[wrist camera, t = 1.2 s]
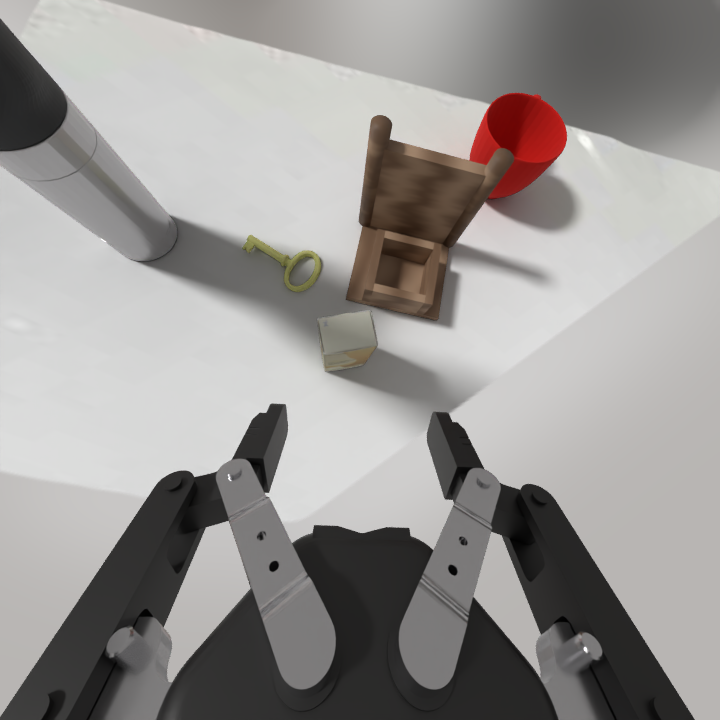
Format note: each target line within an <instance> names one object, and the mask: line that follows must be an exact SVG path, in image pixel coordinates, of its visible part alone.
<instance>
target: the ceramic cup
mask: <svg viewBox="0 0 720 720" xmlns="http://www.w3.org/2000/svg"><path fill="white" fill-rule="evenodd" d="M566 141H567V132H566V127H565V125H564V122H563V120H562V118H561V117H560V116H559V114H558V113H557V112H556V111H555V110H554V109H553V107H551V106H550V105H549V104H547V103H546V102H545V101H543V100H541V96H539V95H534V96H532V95H528V94H524V93H509V94H506V95H503V96H501V97H499V98H497V99H496V100H495V101H494V102H492V104H491V105H490V106H489V108H488V109H487V111H486V113H485V115H484V117H483V120H482V122H481V124H480V127H479V129H478V131H477V134H476V137H475V140H474V143H473V146H472V149H471V153H470V161H472V162H476V163H480V164H484V165H487V164H488V162H489V161H490V159H491V157H492V156H493V154H494V153H495V151H496V150H497V149H499V148H505V149H507V150H509V151H510V152H511V153H512V154H513V156H514V162H513V163H512V165H511V166H510V168H509V169H508V170H507V172H506V173H505V175H504V176H503V177H502V179H501V180H500V181H499V183H498V184H497V186H496V187H495V188H494V190H493V191H492V193H491V194H490V195H489V197H488V199H496V198H501V197H506V196H509V195H512V194H515V193H517V192H519V191H520V190H522V189H523V188H525V187H527V186H528V185H529V184H531V183H532V182H533V181H534V180H536V179H537V178H538V177H539V176H540V175H541V174H542V173H543V172H544V171H545V170H546V169H547V168H548V167H549V166H550V165H551V164H552V163H553V162H554V161H555V160H556V159H557V158H558V157H559V155H560V154H561V153H562V151H563V149H564V148H565V145H566Z"/></svg>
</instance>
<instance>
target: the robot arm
mask: <svg viewBox="0 0 720 720" xmlns="http://www.w3.org/2000/svg"><path fill="white" fill-rule="evenodd" d="M0 166H2V167H3V168H4V169H6V170H7V171H9V172H10V173H11V174H13V175H14V176H16V177H17V178H18V179H20V180H21V181H22V182H24V183H25V184H26V185H28V186H29V187H31V188H32V189H33V190H35V191H36V192H37V193H39V194H40V195H42V196H43V197H44V198H45V199H47V200H48V201H50V202H51V203H52V204H54V205H55V206H56V207H58V208H59V209H61V210H62V211H63V212H65V213H66V214H67V215H69V216H70V217H72V218H73V219H74V220H76V221H77V222H78V223H80V224H81V225H82V226H84V227H85V228H87V229H88V230H89V231H91V232H92V233H93V234H95V235H96V236H98V237H99V238H100V239H102V240H103V241H104V242H106V243H107V244H109V245H110V246H111V247H113V248H114V249H116V250H117V251H118V252H120V253H121V254H122V255H124V256H125V257H127V258H129V259H132V260H136V261H150V260H154V259H157V258H159V257H161V256H163V255H165V254H166V253H167V252H168V251H169V250H170V249H171V248H172V247H173V245H174V243H175V242H176V238H177V227H176V224H175V222H174V221H173V219H172V218H171V217H170V216H169V215H168V213H167V212H166V211H165V210H164V209H163V208H162V206H161V205H160V204H159V203H158V202H157V200H156V199H155V198H154V197H153V196H152V194H151V193H150V192H149V191H148V190H147V189H146V187H145V186H144V185H143V184H142V183H141V181H140V180H139V179H138V178H137V177H136V176H135V174H134V173H133V172H132V171H131V170H130V169H129V167H128V166H127V165H126V164H125V163H124V162H123V160H122V159H121V158H120V157H119V156H118V155H117V153H116V152H115V151H114V150H113V149H112V147H111V146H110V145H109V144H108V143H107V142H106V140H105V139H104V138H103V137H102V136H101V135H100V133H99V132H98V131H97V130H96V129H95V128H94V126H93V125H92V124H91V123H90V122H89V121H88V120H87V118H86V117H85V116H84V115H83V114H82V112H81V111H80V110H79V109H78V108H77V107H76V105H75V104H74V103H73V102H72V101H71V100H70V98H69V97H68V96H67V95H66V94H65V93H64V91H63V90H62V89H61V88H60V87H59V86H58V84H57V83H56V82H55V81H54V80H53V79H52V78H51V76H50V75H49V74H48V73H47V72H46V71H45V70H44V68H43V67H42V66H41V65H40V64H39V63H38V62H37V60H36V59H35V58H34V57H33V56H32V55H31V54H30V52H29V51H28V50H27V49H26V48H25V47H24V46H23V44H22V43H21V42H20V41H19V40H18V39H17V38H16V36H14V34H13V33H12V32H11V31H10V29H9V28H8V27H7V26H6V25H5V23H4V22H3V21H2V20H1V19H0ZM287 432H288V421H287V410H286V405H285V404H270V406H269V408H268V411H267V413H259V414H258V415H257V416H256V417H255V418H254V419H252V421H251V423H250V425H249V428H248V429H247V431H246V433H245V435H244V437H243V439H242V441H241V443H240V445H239V447H238V449H237V451H236V453H235V455H234V457H233V459H232V460H231V461H229V462H227V463H225V464H224V465H223V466H221V467H220V469H219V470H218V471H217V472H214V473H211V474H207V475H203V476H198V477H194V476H193V474H192V473H191V472H189V471H177V472H174V473H171V474H169V475H167V476H166V477H164V478H163V479H161V480H160V481H159V482H158V483H157V485H156V486H155V487H154V489H153V490H152V492H151V493H150V495H149V496H148V498H147V499H146V501H145V502H144V504H143V505H142V507H141V508H140V510H139V511H138V513H137V514H136V516H135V517H134V519H133V520H132V522H131V523H130V525H129V526H128V528H127V529H126V531H125V532H124V534H123V535H122V537H121V538H120V540H119V541H118V542H117V544H116V545H115V547H114V549H113V550H112V551H111V553H110V554H109V556H108V557H107V559H106V560H105V562H104V563H103V565H102V566H101V568H100V569H99V571H98V572H97V574H96V575H95V577H94V578H93V580H92V581H91V583H90V584H89V586H88V587H87V589H86V590H85V592H84V593H83V595H82V596H81V598H80V599H79V601H78V602H77V604H76V605H75V607H74V608H73V610H72V611H71V613H70V614H69V615H68V617H67V618H66V620H65V621H64V623H63V624H62V626H61V627H60V629H59V630H58V632H57V633H56V635H55V636H54V638H53V639H52V641H51V642H50V644H49V645H48V647H47V648H46V650H45V651H44V653H43V654H42V656H41V657H40V659H39V660H38V662H37V663H36V665H35V666H34V668H33V669H32V671H31V672H30V673H29V675H28V676H27V678H26V680H25V681H24V683H23V684H22V686H21V687H20V688H19V690H18V691H17V693H16V694H15V696H14V697H13V699H12V700H11V702H10V703H9V705H8V706H7V708H6V709H5V711H4V712H3V714H2V715H1V717H0V720H695V719H694V718H693V716H692V715H691V713H690V712H689V710H688V708H687V707H686V705H685V704H684V702H683V701H682V699H681V697H680V696H679V694H678V693H677V691H676V689H675V688H674V686H673V685H672V683H671V682H670V680H669V678H668V677H667V675H666V674H665V672H664V671H663V669H662V667H661V666H660V664H659V663H658V661H657V660H656V658H655V656H654V655H653V653H652V652H651V650H650V649H649V647H648V645H647V644H646V643H645V641H644V639H643V638H642V636H641V634H640V633H639V631H638V630H637V628H636V626H635V625H634V623H633V622H632V620H631V619H630V617H629V616H628V614H627V612H626V611H625V609H624V608H623V606H622V604H621V603H620V601H619V600H618V598H617V597H616V595H615V593H614V592H613V590H612V589H611V587H610V586H609V584H608V582H607V581H606V579H605V578H604V576H603V574H602V573H601V571H600V570H599V568H598V567H597V565H596V564H595V562H594V561H593V559H592V557H591V556H590V554H589V552H588V551H587V549H586V548H585V546H584V545H583V543H582V541H581V540H580V539H579V537H578V535H577V534H576V532H575V530H574V529H573V527H572V526H571V524H570V522H569V521H568V519H567V518H566V516H565V515H564V513H563V511H562V510H561V508H560V507H559V505H558V504H557V502H556V500H555V499H554V498H553V497H552V496H551V494H549V493H548V492H547V491H546V490H544V489H543V488H541V487H539V486H536V485H533V484H526V485H523V486H522V488H521V490H519V489H516V488H512V487H509V486H506V485H503V484H501V483H499V481H498V480H497V478H496V477H495V476H494V475H493V474H492V473H490V472H489V471H487V470H485V469H484V467H483V465H482V464H481V461H480V459H479V457H478V455H477V453H476V451H475V449H474V448H473V446H472V443H471V441H470V439H468V435H467V433H466V431H465V429H464V428H462V427H461V426H460V425H459V424H458V423H457V422H452V420H451V418H450V415H449V414H448V413H447V412H433V414H432V417H431V420H430V424H429V428H428V432H427V443H428V446H429V450H430V453H431V456H432V459H433V462H434V466H435V469H436V472H437V475H438V479H439V482H440V485H441V488H442V492H443V495H444V498H445V499H449V500H453V502H454V505H453V508H452V510H451V512H450V514H449V517H448V519H447V521H446V524H445V526H444V528H443V530H442V532H441V535H440V537H439V539H438V541H437V544H436V546H435V548H434V550H432V549H431V548H430V547H429V546H428V545H426V544H425V543H424V542H422V541H420V540H419V539H416V538H414V537H411V536H410V530H409V528H392V527H389V528H388V527H386V528H382V529H378V530H374V531H370V532H367V533H358V532H355V531H352V530H349V529H345V528H342V527H339V526H321V525H314V529H313V533H312V534H308V535H306V536H303V537H301V538H299V539H298V540H296V541H295V542H293V543H291V541H290V539H289V537H288V535H287V533H286V531H285V528H284V526H283V524H282V522H281V520H280V518H279V516H278V514H277V512H276V510H275V508H274V506H273V504H272V502H271V500H270V498H269V497H266V495H265V493H269V491H270V488H271V485H272V482H273V478H274V475H275V472H276V469H277V466H278V463H279V459H280V456H281V453H282V450H283V447H284V444H285V440H286V437H287ZM226 521H229V523H230V526H231V529H232V531H233V535H234V538H235V541H236V544H237V547H238V550H239V553H240V556H241V559H242V562H243V566H244V568H245V572H246V575H247V578H248V581H249V584H250V587H251V589H250V590H249V591H248V592H247V593H246V595H245V596H244V597H243V598H242V599H241V600H240V602H238V604H237V605H236V606H235V607H234V608H233V609H232V611H231V612H230V613H229V614H228V615H227V616H226V617H225V619H224V620H223V621H222V622H221V623H220V624H219V625H218V626H217V628H216V629H215V630H214V631H213V632H212V633H211V634H210V636H209V637H208V638H207V639H206V640H205V641H204V643H203V644H202V645H201V646H200V647H199V648H198V649H197V650H196V651H195V653H194V654H193V655H192V656H191V657H190V658H189V660H188V661H187V662H186V663H185V664H184V666H183V667H182V668H181V670H180V671H179V673H178V674H177V676H176V677H175V679H174V681H173V682H172V683H169V682H168V679H167V666H168V661H169V658H170V654H171V649H172V641H171V637H170V635H169V634H168V632H167V631H166V630H165V629H164V625H165V623H166V620H167V618H168V616H169V613H170V611H171V609H172V606H173V604H174V602H175V599H176V597H177V594H178V592H179V590H180V587H181V585H182V583H183V580H184V578H185V575H186V573H187V571H188V568H189V566H190V563H191V561H192V559H193V557H194V554H195V551H196V550H197V547H198V545H199V542H200V540H201V538H202V535H203V533H204V530H205V528H206V527H209V526H212V525H215V524H219V523H222V522H226ZM491 532H494V533H497V534H500V535H502V537H503V540H504V542H505V545H506V547H507V550H508V552H509V555H510V557H511V560H512V563H513V565H514V568H515V570H516V573H517V575H518V578H519V580H520V583H521V585H522V588H523V590H524V593H525V595H526V598H527V600H528V603H529V605H530V608H531V610H532V613H533V616H534V618H535V621H536V623H537V626H538V628H539V631H540V633H541V636H540V637H539V638H538V640H537V643H536V653H537V657H538V661H539V665H540V671H541V678H540V677H539V676H538V674H537V673H536V671H535V670H534V668H533V667H532V666H531V665H530V663H529V662H528V661H527V660H526V658H525V657H524V656H523V655H522V654H521V652H520V651H519V650H518V649H517V648H516V647H515V645H514V644H513V643H512V642H511V641H510V639H509V638H508V637H507V636H506V635H505V634H504V632H503V631H502V630H501V629H500V628H499V627H498V625H497V624H496V623H495V622H494V621H493V619H492V618H491V617H490V616H489V615H488V614H487V612H486V611H485V610H484V609H483V608H482V606H481V605H480V604H479V603H478V602H477V601H476V599H475V598H474V597H473V595H474V592H475V588H476V585H477V581H478V577H479V574H480V570H481V566H482V563H483V559H484V556H485V552H486V548H487V545H488V541H489V537H490V534H491Z"/></svg>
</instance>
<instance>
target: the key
mask: <svg viewBox="0 0 720 720" xmlns="http://www.w3.org/2000/svg"><path fill="white" fill-rule="evenodd" d="M254 246H255V247H257V248H258V249H260V250H262V251H263V252H265V253H266V254H268V255H270V256H271V257H273V258H274V259H276V260H278V261H279V262H281V266H285V265H286V266H287V268H286V270H285V273H284V282H285V285H286V286H287V287H288V288H289V289H290V290H292V291H294V292H301V291H304V290H306V289H308V288H309V287H311V286H312V285H313V284H314V282H315V281H316V280H317V278H318V276H319V274H320V271H321V262H320V259H319V257H318V255H317V254H315V253H314V252H312V251H302V252H300V253H298V254H297V255H296V256H295V257H294V258H293V259H292V260H291V259H289V256H288V255H282V254H281V253H279V252H278V251H276V250H274V249H273V248H271V247H270V246H268V245H266V244H265V243H263V242H262V241H260V240H258V239H257V238H255V237H254V236H252V235H249V236H248V238H247V242H246V244H245V245H244V246H243V247H242V249H243V250H245V249H246V251H247V252H248V253H250V251H251V250H252V249H253V247H254ZM304 257H312V258H313V259H314V260H315V269H314V272H313V274H312V276H311V277H310V278H309V280H308V281H307V282H306V283H304V284H302V285H300V286H293V285H291V284H290V282H289V275H290V272H291V270H292V269H293V267H294V266H295V264H296V263H297V262H298V261H299V260H301V259H302V258H304Z"/></svg>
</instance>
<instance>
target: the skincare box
mask: <svg viewBox="0 0 720 720" xmlns="http://www.w3.org/2000/svg"><path fill="white" fill-rule="evenodd" d="M317 323H318V331H319V339H320V346H321V353H322V359H323V365H324V369H325V372H329V371H336V370H342V369H348V368H353V367H357V366H362V365H364V364H365V362H366V361H367V360H368V358H369V357H370V355H371V354H372V353H373V351H374V350H375V348H376V347H377V345H378V342H377V337H376V331H375V326H374V320H373V316H372V311H370V310H366V311H359V312H353V313H345V314H339V315H332V316H326V317H319V318H317Z"/></svg>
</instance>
